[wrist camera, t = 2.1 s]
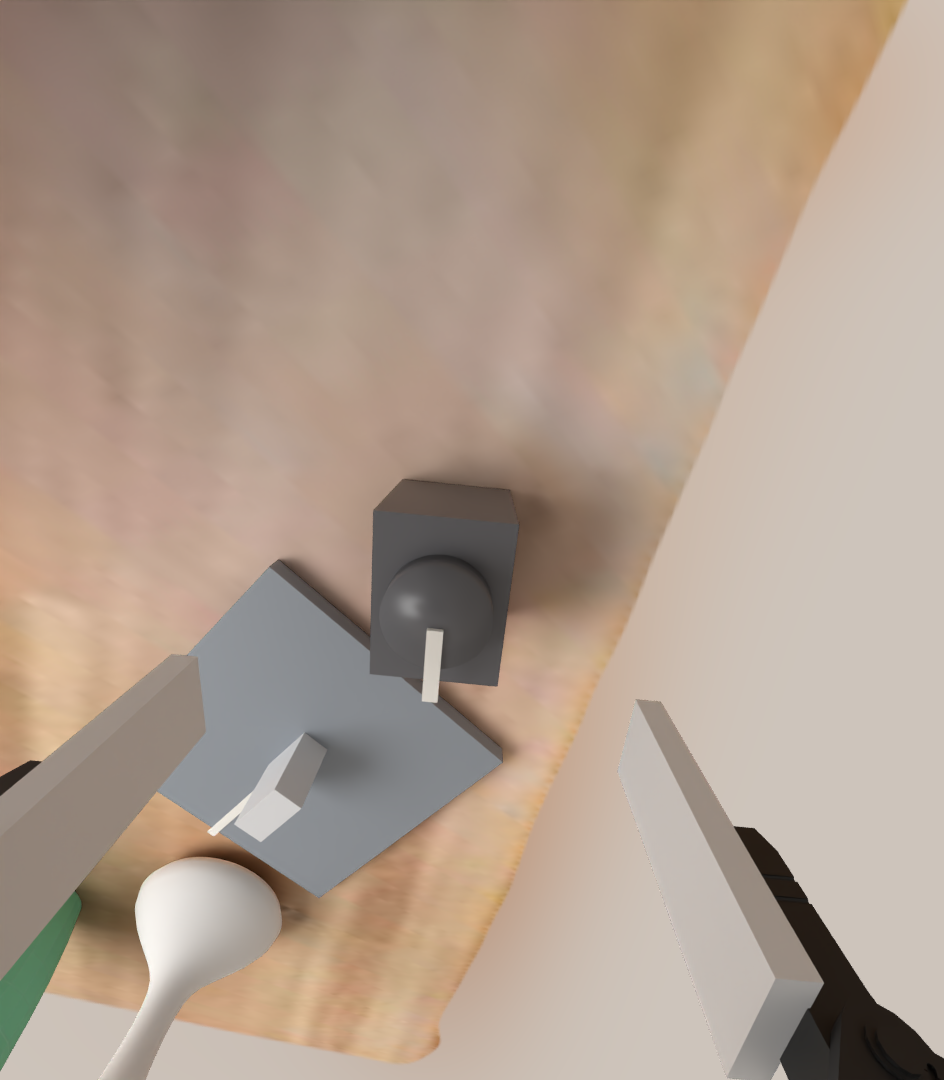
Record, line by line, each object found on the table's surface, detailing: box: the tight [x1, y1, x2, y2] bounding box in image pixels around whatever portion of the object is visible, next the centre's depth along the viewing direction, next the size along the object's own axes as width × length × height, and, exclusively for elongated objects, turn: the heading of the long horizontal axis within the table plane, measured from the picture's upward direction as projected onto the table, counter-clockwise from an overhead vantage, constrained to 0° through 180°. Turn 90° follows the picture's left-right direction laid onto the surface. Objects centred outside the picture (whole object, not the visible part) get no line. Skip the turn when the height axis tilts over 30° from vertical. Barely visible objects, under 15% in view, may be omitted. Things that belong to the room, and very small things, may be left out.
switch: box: [157, 560, 503, 898], centre depth 29 cm, size 20×20×6 cm
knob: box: [370, 479, 519, 703], centre depth 22 cm, size 8×6×9 cm
